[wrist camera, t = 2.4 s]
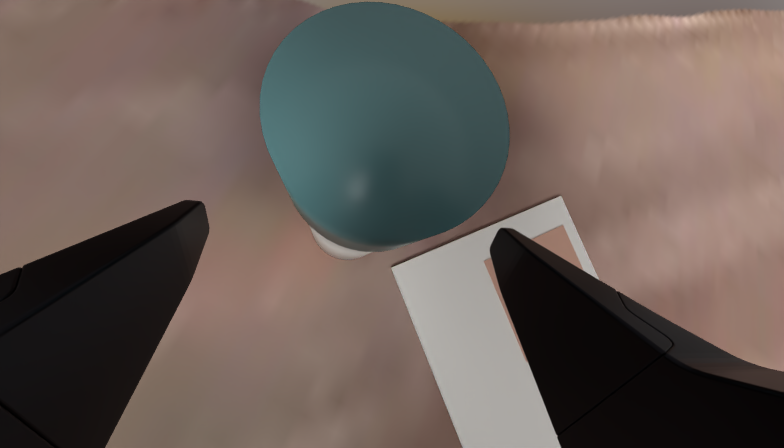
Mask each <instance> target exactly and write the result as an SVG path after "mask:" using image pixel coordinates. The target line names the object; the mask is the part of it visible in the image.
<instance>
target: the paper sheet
mask: <svg viewBox="0 0 784 448" xmlns="http://www.w3.org/2000/svg"><path fill="white" fill-rule="evenodd" d="M500 228H512V229H515V230H516V231H518V232H520V233H521V234H523V235H525V236H526V237H528V238H530V239H531V240H533V241H535V242H536V243H538V244H540V245H541V246H543V247H545V248H546V249H548V250H550V251H551V252H553V253H555V254H556V255H558V256H560V257H562V258H563V259H565V260H567V261H568V262H570V263H572V264H573V265H575V266H577V267H578V268H580V269H582V270H583V271H585V272H587V273H588V274H590V275H592V276H593V277H595V278H597V279H598V276H597V274H596V272H595V270H594V268H593V265H592V263H591V261H590V259H589V257H588V254H587V252H586V250H585V248H584V245H583V243H582V241H581V239H580V237H579V234H578V232H577V230H576V228H575V226H574V223H573V221H572V219H571V217H570V215H569V212H568V210H567V208H566V206H565V203H564V201H563V199H562V197H561V196H559V197H557V198H554V199H552V200H550V201H547V202H545V203H543V204H540V205H538V206H536V207H533V208H531V209H528V210H526V211H524V212H521V213H519V214H517V215H514V216H512V217H510V218H507V219H505V220H502V221H500V222H498V223H495V224H493V225H491V226H488V227H486V228H484V229H481V230H479V231H476V232H474V233H472V234H469V235H467V236H465V237H462V238H460V239H458V240H455V241H453V242H451V243H448V244H446V245H443V246H441V247H439V248H436V249H434V250H432V251H429V252H427V253H425V254H422V255H420V256H417V257H415V258H413V259H410V260H408V261H406V262H403V263H401V264H399V265H396V266H394V267H392V268H391V269H392V272H393V274H394V277H395V279H396V282H397V284H398V287H399V289H400V292H401V294H402V297H403V300H404V302H405V305H406V307H407V310H408V312H409V315H410V317H411V320H412V322H413V325H414V327H415V330H416V332H417V335H418V337H419V340H420V342H421V345H422V347H423V350H424V352H425V355H426V357H427V360H428V362H429V365H430V367H431V370H432V372H433V375H434V377H435V380H436V382H437V385H438V387H439V390H440V392H441V395H442V398H443V400H444V403H445V405H446V408H447V410H448V413H449V415H450V418H451V420H452V423H453V425H454V428H455V430H456V433H457V435H458V438H459V440H460V443H461V445H462V448H561V446H560V444H559V441H558V439H557V435H556V433H555V431H554V428H553V425H552V423H551V420H550V418H549V415H548V413H547V410H546V407H545V405H544V402H543V400H542V397H541V395H540V392H539V389H538V387H537V384H536V382H535V379H534V377H533V374H532V372H531V369H530V366H529V364H528V361H527V359H526V356H525V354H524V351H523V348H522V346H521V343H520V341H519V338H518V336H517V333H516V330H515V328H514V325H513V323H512V320H511V318H510V315H509V313H508V310H507V307H506V305H505V302H504V300H503V297H502V294H501V292H500V288H499V285H498V281H497V278H496V274H495V270H494V267H493V263H492V259H491V255H490V246H491V244H492V242H493V239H494V237H495V235H496V233H497V231H498V230H499V229H500ZM598 280H599V279H598Z"/></svg>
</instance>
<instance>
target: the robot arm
mask: <svg viewBox="0 0 784 448" xmlns="http://www.w3.org/2000/svg"><path fill="white" fill-rule="evenodd" d="M208 234H209V223H208V218H207V214H206V209H205V205H204V204H203V203H202V202H201V201H192V200H184V201H181V202H179V203H176V204H174V205H172V206H169V207H167V208H164V209H162V210H159V211H157V212H154V213H152V214H149V215H147V216H144V217H142V218H139V219H137V220H134V221H132V222H130V223H127V224H125V225H122V226H120V227H117V228H115V229H112V230H110V231H107V232H105V233H102V234H100V235H97V236H95V237H92V238H90V239H87V240H85V241H83V242H80V243H78V244H75V245H73V246H70V247H68V248H65V249H63V250H60V251H58V252H55V253H53V254H50V255H48V256H45V257H43V258H41V259H38V260H36V261H33V262H31V263H28V264H26V265H24V266H23V268H16V269H13V270H11V271H8V272H6V273H3V274H1V275H0V448H105V447H106V445H107V443H108V441H109V439H110V437H111V435H112V433H113V431H114V429H115V427H116V425H117V424H118V422H119V420H120V418H121V416H122V414H123V412H124V410H125V408H126V406H127V404H128V402H129V400H130V398H131V396H132V395H133V393H134V391H135V389H136V387H137V385H138V383H139V381H140V379H141V377H142V375H143V373H144V371H145V369H146V368H147V366H148V364H149V362H150V360H151V358H152V356H153V354H154V352H155V350H156V348H157V346H158V344H159V342H160V341H161V339H162V337H163V335H164V333H165V331H166V329H167V327H168V325H169V323H170V321H171V319H172V317H173V315H174V313H175V312H176V310H177V308H178V306H179V304H180V302H181V300H182V298H183V296H184V294H185V292H186V290H187V288H188V286H189V284H190V282H191V280H192V278H193V275H194V273H195V270H196V267H197V264H198V262H199V259H200V256H201V253H202V251H203V248H204V245H205V242H206V240H207V237H208ZM490 255H491V259H492V263H493V267H494V270H495V274H496V278H497V281H498V285H499V288H500V292H501V294H502V297H503V300H504V302H505V305H506V307H507V310H508V313H509V315H510V318H511V320H512V323H513V325H514V328H515V330H516V333H517V336H518V338H519V341H520V343H521V346H522V348H523V351H524V354H525V356H526V359H527V361H528V364H529V366H530V369H531V372H532V374H533V377H534V379H535V382H536V384H537V387H538V389H539V392H540V395H541V397H542V400H543V402H544V405H545V407H546V410H547V413H548V415H549V418H550V420H551V423H552V425H553V428H554V431H555V433H556V435H557V439H558V441H559V444H560V446H561V448H784V372H783V371H777V370H773V369H769V368H765V367H761V366H758V365H755V364H752V363H749V362H747V361H744V360H742V359H740V358H737V357H735V356H733V355H731V354H729V353H727V352H725V351H724V350H722V349H720V348H718V347H716V346H714V345H713V344H711V343H709V342H707V341H705V340H703V339H702V338H700V337H698V336H696V335H694V334H692V333H691V332H689V331H687V330H685V329H683V328H681V327H680V326H678V325H676V324H674V323H672V322H671V321H669V320H667V319H665V318H663V317H662V316H660V315H658V314H656V313H654V312H653V311H651V310H649V309H647V308H646V307H644V306H642V305H641V304H639V303H637V302H635V301H634V300H632V299H630V298H629V297H627V296H625V295H624V294H622V293H620V292H618V291H616V290H615V289H613V288H612V287H610V286H608V285H607V284H605V283H603V282H602V281H600V280H598V279H597V278H595V277H593V276H592V275H590V274H588V273H587V272H585V271H583V270H582V269H580V268H578V267H577V266H575V265H573V264H572V263H570V262H568V261H567V260H565V259H563V258H562V257H560V256H558V255H556V254H555V253H553V252H551V251H550V250H548V249H546V248H545V247H543V246H541V245H540V244H538V243H536V242H535V241H533V240H531V239H530V238H528V237H526V236H525V235H523V234H521V233H520V232H518V231H516V230H515V229H512V228H500V229H499V230H498V231H497V233H496V235H495V237H494V239H493V242H492V244H491V246H490Z"/></svg>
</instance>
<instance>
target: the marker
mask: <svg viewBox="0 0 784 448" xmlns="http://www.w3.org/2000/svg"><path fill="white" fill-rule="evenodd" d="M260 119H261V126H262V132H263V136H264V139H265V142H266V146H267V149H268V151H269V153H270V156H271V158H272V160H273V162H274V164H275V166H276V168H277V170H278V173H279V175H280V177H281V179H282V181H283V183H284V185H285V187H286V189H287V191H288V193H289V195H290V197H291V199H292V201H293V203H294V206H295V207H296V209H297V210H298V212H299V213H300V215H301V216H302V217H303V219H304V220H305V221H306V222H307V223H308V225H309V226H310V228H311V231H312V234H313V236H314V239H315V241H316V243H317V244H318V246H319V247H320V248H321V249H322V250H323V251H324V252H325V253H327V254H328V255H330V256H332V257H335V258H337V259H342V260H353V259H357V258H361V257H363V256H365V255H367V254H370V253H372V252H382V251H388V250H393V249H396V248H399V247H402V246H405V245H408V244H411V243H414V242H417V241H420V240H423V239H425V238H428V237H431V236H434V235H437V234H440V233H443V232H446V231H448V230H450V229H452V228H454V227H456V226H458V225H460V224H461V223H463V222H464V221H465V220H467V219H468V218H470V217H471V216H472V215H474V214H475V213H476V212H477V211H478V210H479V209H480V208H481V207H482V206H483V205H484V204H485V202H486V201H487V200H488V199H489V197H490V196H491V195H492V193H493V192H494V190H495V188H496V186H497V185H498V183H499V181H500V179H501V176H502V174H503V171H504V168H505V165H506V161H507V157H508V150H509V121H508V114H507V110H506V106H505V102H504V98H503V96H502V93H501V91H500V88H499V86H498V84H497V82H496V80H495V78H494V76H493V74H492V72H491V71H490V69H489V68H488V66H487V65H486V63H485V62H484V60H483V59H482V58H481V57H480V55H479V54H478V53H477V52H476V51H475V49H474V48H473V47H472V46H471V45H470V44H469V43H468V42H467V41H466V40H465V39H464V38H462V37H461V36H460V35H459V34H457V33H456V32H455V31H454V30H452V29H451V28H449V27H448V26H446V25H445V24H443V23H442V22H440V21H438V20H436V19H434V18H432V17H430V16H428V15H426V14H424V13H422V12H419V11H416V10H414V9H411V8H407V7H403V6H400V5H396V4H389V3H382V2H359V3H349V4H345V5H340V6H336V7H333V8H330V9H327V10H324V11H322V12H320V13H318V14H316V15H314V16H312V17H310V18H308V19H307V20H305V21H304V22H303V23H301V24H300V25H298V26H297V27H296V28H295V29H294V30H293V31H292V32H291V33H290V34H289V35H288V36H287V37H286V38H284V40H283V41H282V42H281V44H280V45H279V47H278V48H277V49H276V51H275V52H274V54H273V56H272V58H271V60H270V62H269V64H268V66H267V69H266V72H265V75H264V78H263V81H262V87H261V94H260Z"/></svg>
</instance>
